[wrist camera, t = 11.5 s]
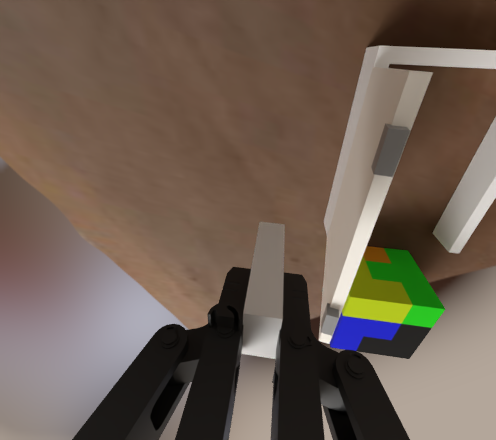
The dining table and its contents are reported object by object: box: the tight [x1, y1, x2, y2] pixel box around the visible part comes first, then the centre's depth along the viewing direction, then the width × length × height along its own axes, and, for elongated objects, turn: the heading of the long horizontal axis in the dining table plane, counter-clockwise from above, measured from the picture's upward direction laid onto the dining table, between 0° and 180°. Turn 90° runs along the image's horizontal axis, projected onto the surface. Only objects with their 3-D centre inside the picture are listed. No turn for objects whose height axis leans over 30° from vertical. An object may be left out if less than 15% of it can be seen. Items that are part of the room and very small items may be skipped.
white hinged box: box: [324, 46, 496, 253], centre depth 27 cm, size 20×15×4 cm
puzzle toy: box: [322, 246, 445, 359], centre depth 34 cm, size 10×10×10 cm
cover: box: [319, 67, 433, 344], centre depth 20 cm, size 18×15×1 cm
